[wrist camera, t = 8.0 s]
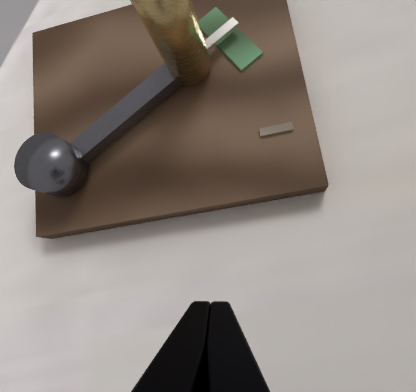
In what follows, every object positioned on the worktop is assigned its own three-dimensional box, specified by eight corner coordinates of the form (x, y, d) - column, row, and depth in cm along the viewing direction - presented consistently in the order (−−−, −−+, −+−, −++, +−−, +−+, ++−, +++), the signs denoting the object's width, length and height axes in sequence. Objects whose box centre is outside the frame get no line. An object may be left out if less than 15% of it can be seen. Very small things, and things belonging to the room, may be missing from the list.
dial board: (325, 191, 21) (328, 184, 20) (50, 238, 24) (34, 236, 23) (277, -20, 25) (277, -40, 23) (45, 44, 28) (30, 31, 26)
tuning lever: (254, 43, 22) (234, -145, 12) (56, 208, 22) (-123, 159, 12) (220, 11, 23) (175, -188, 13) (31, 168, 24) (-153, 94, 13)
